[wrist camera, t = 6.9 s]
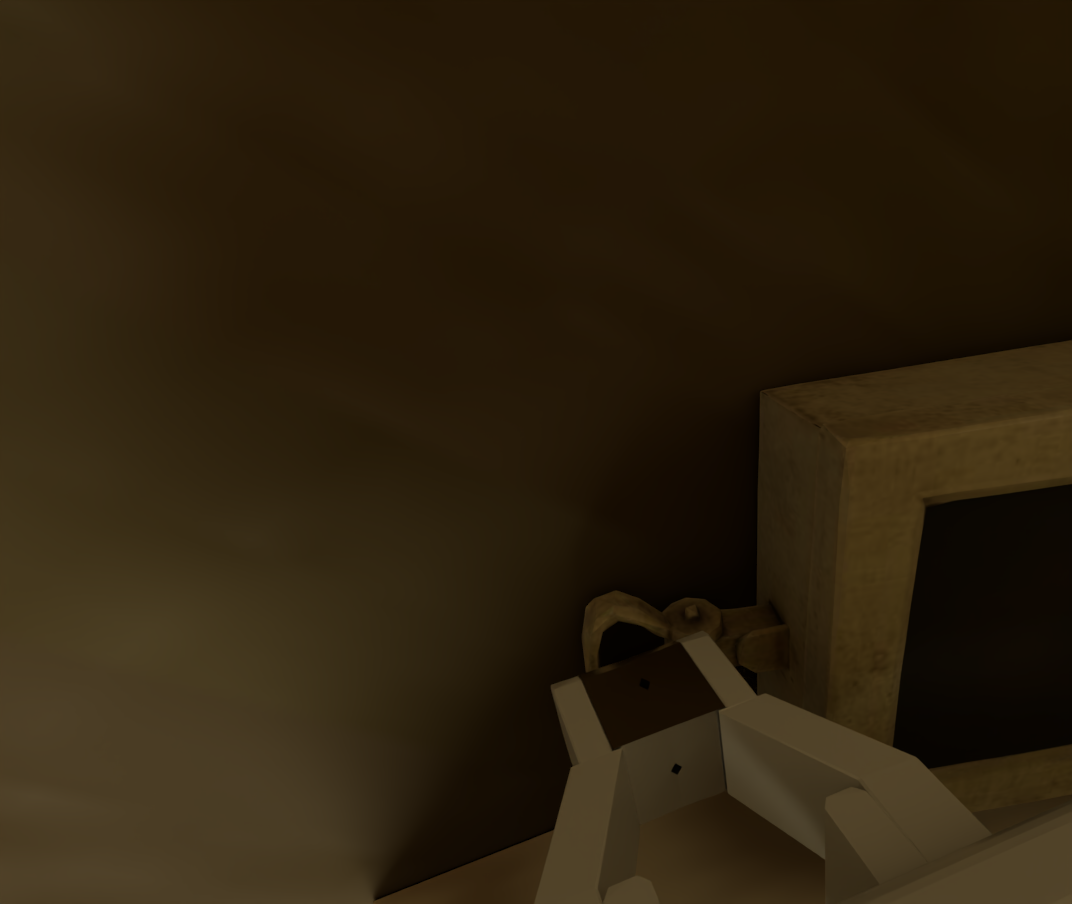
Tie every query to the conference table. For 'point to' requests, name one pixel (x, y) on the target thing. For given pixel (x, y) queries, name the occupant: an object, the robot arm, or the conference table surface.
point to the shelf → (681, 860)
